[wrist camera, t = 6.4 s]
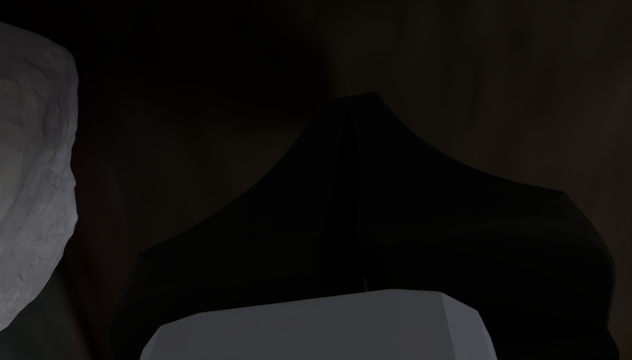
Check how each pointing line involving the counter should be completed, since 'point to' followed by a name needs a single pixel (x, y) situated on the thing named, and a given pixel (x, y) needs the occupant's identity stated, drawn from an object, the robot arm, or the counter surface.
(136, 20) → the counter surface
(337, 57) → the counter surface
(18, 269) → the stone block
